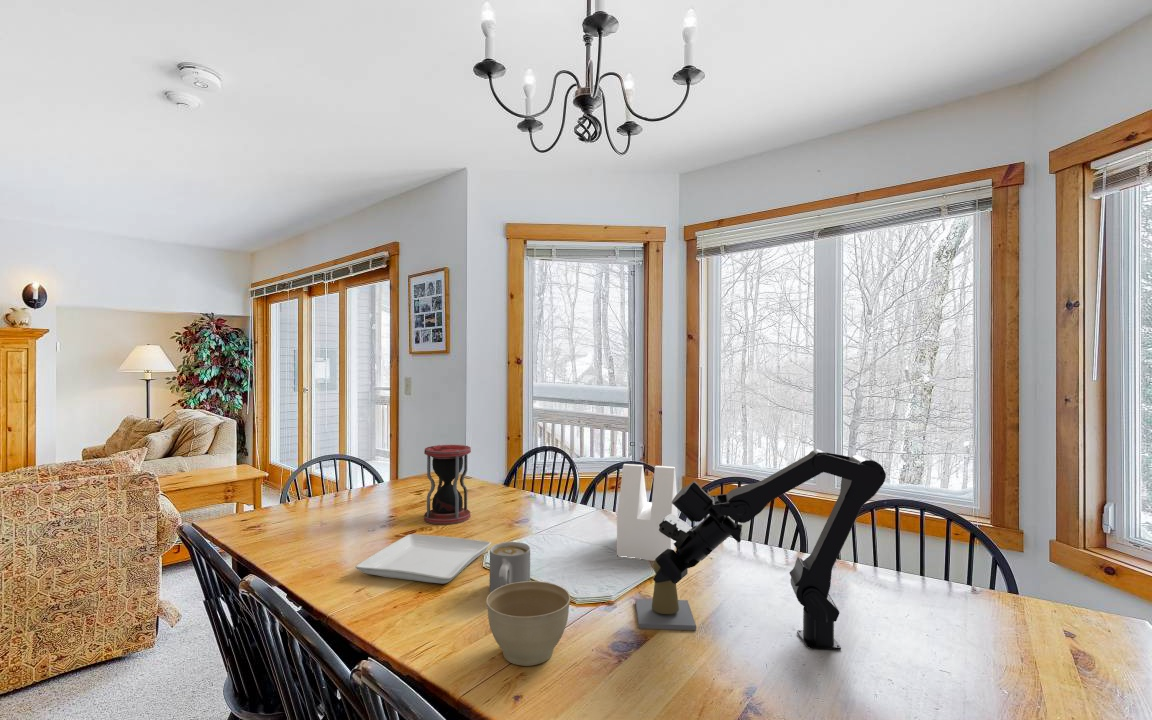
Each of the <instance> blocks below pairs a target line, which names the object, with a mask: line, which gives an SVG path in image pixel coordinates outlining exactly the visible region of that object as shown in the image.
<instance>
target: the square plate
mask: <svg viewBox="0 0 1152 720" xmlns="http://www.w3.org/2000/svg"><path fill="white" fill-rule="evenodd" d="M491 545H492V542H491V541H485V540H479V539H478V540H477V539H469V538H462V537H453V536H443V535H431V534H430V535H429V534H428V535H427V534H416V533H411V534H410V533H409V534H407V535H406V536H404V537H402V538H400V539H397V540H395V542H393V543H391V544H388V545H386V546H385V547H383V548H382V549H381V550H379V551H377V552H376V553H374V554H372V555H371V556H370V555H369V557H367V558H366V559H364V560H362V561H361V562H359V563H358V564H357V565H355V566H354V567H355V569H357V570H358V571H359V572H361V573H363V574H367V575H374V576H380V577H384V578H392V579H397V580H407V581H417V582H424V583H432V584H442V585H443V584H444V585H445V584H447V583H450V582H451V581H452V580H453V579H454V578H456V577H457V576H458V575H459V574H460V573H461V572H463V570H464V569H465V568H466V567H467V566H469V565H470V564H471V563H472V562H474V561H475V560H476V559H477V558H478V557H480V556H481V555H483V553H485V552H486V550H487V549H488V548H489V547H490V546H491Z"/></svg>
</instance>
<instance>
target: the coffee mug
mask: <svg viewBox="0 0 1152 720" xmlns="http://www.w3.org/2000/svg"><path fill="white" fill-rule="evenodd" d="M525 581H531V546H530V545H529V544H527V543H524V542H519V541H505V542H499V543H497V544H494V545H492V546H491V547H490V548H489V594H490V593H491V592H492V591H494V590H495V589H497V588H499V587H501V586H504V585H507V584H511V583H516V582H525Z"/></svg>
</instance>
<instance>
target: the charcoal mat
mask: <svg viewBox="0 0 1152 720" xmlns="http://www.w3.org/2000/svg"><path fill="white" fill-rule="evenodd" d="M652 601H653V598H635V608H636V609H635V611H636V617H637V624H638V625H637V626H638V629H647V630H674V631H675V630H676V631H697V623H696V620H695V618H694V615H693V613H692V610H691V607H690V603H689V601H688V599H678V603H679V611H678V612H676V613H673V614H661V613H658V612H656V611H654V610H653V609H652Z"/></svg>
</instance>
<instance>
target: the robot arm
mask: <svg viewBox="0 0 1152 720" xmlns="http://www.w3.org/2000/svg"><path fill="white" fill-rule="evenodd" d="M822 473H826V474H829V475H833V476H836V477H839V478H841V479H840V480H841V481H840V489H839V495H838V497H837V499H836V500H835V503H834V506H833V507H832V509H831V512H830V514H829V516H828V518H827V520H826V523H825V524H824V525H823V528H822V530H821V532H820V534H819V537H818V539H817V540H816V543H815V545H814V547H813V550H812V551H811V553H810V555H808V556H807V557H806V558H805V559H804V560H803V559H802V558H800V557H799V556H797V557H796V560H795V563H794V566H793V568H792V569H791V570H790V571H789V573H788V574H789V576H790V585H791V588H792V590H793V593H794V594H795V595H794V596H795V597H796V599H797V601H798V603H799V604H800V605H801V606H803V609H802V610H803V612H802V613H803V614H802V617H803V618H802V619H803V621H802V624H803V625H802V629H798V630H796V634H797V635H798V636H799V638H800V640H801V641H802V642H803V644H804V645H805V646H806V648H807V649H810V650H811V649H813V650H814V649H815V650H837V651H838V650H839V651H840V650H841V649H842V645H840V644H839V642H838V641H837V640H836V638H835V622H837V621H838V618H839V615H840V614H841V613H840V610H839V608H838V607H837V605H836V603H835V601H834V600H833V598H832V597H831V595H830V591H831V590H830V589H831V585H832V584H831V583H832V582H831V581H832V573H833V568H834V565H835V563H836V562H837V559H838V557H839V556H840V553H841V550H842V549H843V547H844V544H845V542H846V541H847V539H848V537H849V535H850V533H851V531H852V528H853V526H854V524H855V523H856V520H857V518H858V516H859V514H860V512H861V509H862V508H863V506H864V505H865V504H867V502H869V501H870V500H871V499H873V498H874V496H876V494H877V493H878V492H879V490H880V489H881V488H882V486H883V485H884V484H885V481H886V478H887V474H886V472H885V469H884V467H883V466H882V465H881V464H880V463H879V462H877V461H875V460H874V459H872V458H871V457H868V456H866V455H863V454H856V455H853V456H847V455H843V454H839V453H832V452H827V451H824V450H821V449H813V450H812V451H810V452H809V453H808V454H807V455H804V456H803V457H802V458H800V459H798V460H796V461H794V462H791V463H790V464H789V465H787V466H786V467H783V468H781V469H779V470H778V471H777V472H775V473H773V474H771V475H769V476H767V477H765V478H763V479H762V480H760V481H756V482H752V483H747V484H744V485H741V486H738V487H736V488H733V489H730V490H729V491H728V492H727V493H723V494H716V495H709V494H708V493H707V492H706V491H705V490H704V489H703V488H702V487H701V486H700V483H698V482H697V481H696V480H692V482H691V483H689V484H687V485H686V486H685V487H683V488H681V489H680V491H678V492H677V495H676V496H675V497H674V499H673V500H672V504H673V505H674V506H675V507H676V508H677V510H678V511H680V513H682V514H683V516H685V517H686V518H687V519H688V520H689V522H691V523H692V522H695V523H698V524H696V525H695V526H693V527H692V526H691V525H689V524H688V523H687V522H686V521H685V520H682V519H681V518H680V517H678V515H677V516H675V515H673V514H669V515H667V516H666V517H664V519H663V521H662V523H660V524H659V526H660V528H659V531H660V532H661V533H662V534H664V535H665V536H667V537H668V538H671V539H673V540H674V541H676V542H675V543H674V545H675V549H676V550H672V549H667V550H665V551H664V552H663V553H661V554H660V555H659V556H658V557H657V558H656V562H657V563H658V565H659V566H660V569H659V570H658V572H657V573H656V572H655V575H654V577H653V578H652V581H654V584H655V583H659V582H665V581H671V582H672V583H674V584H676V585H677V583H679V582H680V581H681V580H682V579H683V578H685V577H686V576H687V575H688V571H689V570H688V569H691V568H694V567H696V565H698V563H700V561H701V562H702V561H703V560H704V559H706V558H707V557H708V556H709V555H710V554H711V553H712V552H713V551H714V550H715V549H717V548H718V547H719V546H720V545H721V544H723V543H724V541H727V539H729V537H732V538H733V539H734V540H735V541H736V542H737V543H740V542H741V541H742V537H743V536H742V535H743V532H742V531H743V530H742V529H743V524H745V523H748V522H750V521H751V520H753V519H754V518H755V517H756V516H758V514H760V513H762V511H763V510H764V509H766V507H767V506H768V505H769V504H770V503H771V502H772V501H773V500H775V499H777V498H778V497H780V496H783V495H784V494H786V493H787V492H790V491H791V490H794V489H795V488H796V487H799V486H801V485H803V484H804V483H806V482H808V481H810V480H811V479H814V478H815V477H817V476H819V475H820V474H822ZM738 523H740V524H738Z"/></svg>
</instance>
